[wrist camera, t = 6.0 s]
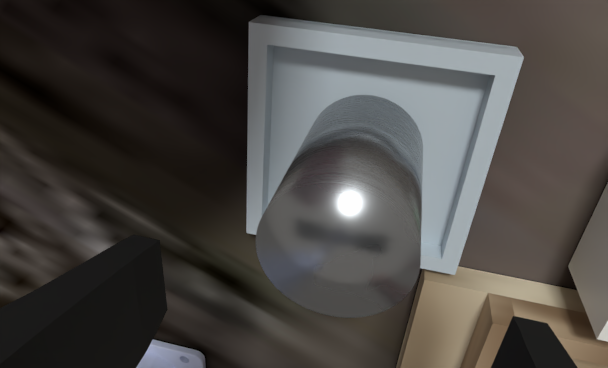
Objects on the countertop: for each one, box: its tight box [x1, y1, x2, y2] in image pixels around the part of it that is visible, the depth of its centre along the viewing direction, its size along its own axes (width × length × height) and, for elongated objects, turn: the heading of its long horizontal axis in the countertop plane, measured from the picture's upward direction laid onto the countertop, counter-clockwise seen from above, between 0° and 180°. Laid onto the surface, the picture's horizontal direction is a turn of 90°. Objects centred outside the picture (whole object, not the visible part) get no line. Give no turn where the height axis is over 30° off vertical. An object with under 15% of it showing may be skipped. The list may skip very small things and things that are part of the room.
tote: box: [246, 15, 524, 275], centre depth 16 cm, size 8×8×1 cm
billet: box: [256, 95, 423, 318], centre depth 14 cm, size 4×4×6 cm
